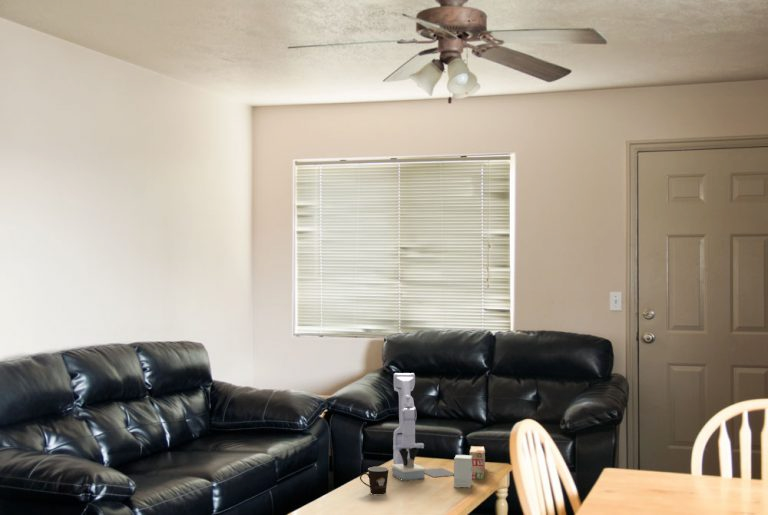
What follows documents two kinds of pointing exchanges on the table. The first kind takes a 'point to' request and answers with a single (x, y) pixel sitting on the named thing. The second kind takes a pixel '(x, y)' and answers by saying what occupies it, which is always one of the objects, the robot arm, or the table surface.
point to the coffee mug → (377, 479)
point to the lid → (408, 466)
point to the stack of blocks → (478, 461)
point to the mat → (438, 472)
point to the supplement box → (462, 471)
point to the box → (408, 475)
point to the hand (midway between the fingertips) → (408, 465)
